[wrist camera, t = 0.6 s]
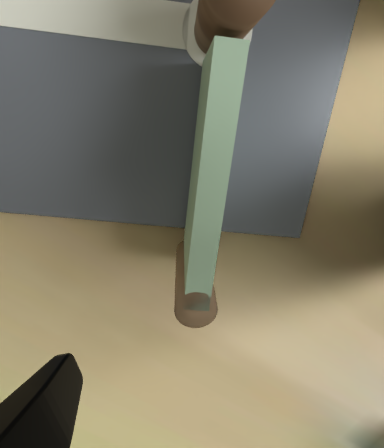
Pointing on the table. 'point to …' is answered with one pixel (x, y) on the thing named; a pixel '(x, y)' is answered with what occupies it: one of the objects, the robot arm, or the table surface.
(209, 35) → the fixed fence section
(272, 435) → the table surface
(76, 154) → the card
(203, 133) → the hinged fence panel
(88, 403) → the table surface
